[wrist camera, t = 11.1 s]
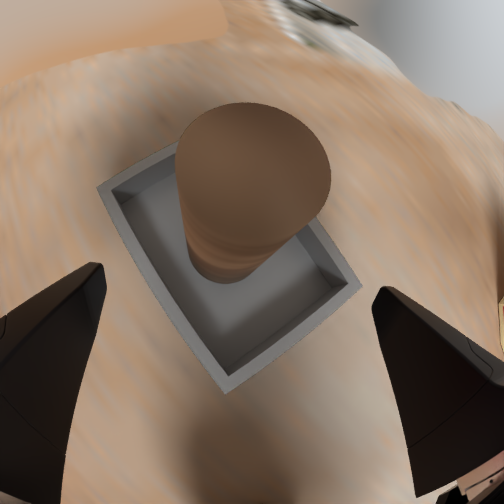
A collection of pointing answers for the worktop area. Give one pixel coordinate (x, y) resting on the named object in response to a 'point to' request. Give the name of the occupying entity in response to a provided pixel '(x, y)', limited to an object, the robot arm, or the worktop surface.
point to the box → (225, 295)
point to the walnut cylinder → (246, 186)
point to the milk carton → (501, 321)
